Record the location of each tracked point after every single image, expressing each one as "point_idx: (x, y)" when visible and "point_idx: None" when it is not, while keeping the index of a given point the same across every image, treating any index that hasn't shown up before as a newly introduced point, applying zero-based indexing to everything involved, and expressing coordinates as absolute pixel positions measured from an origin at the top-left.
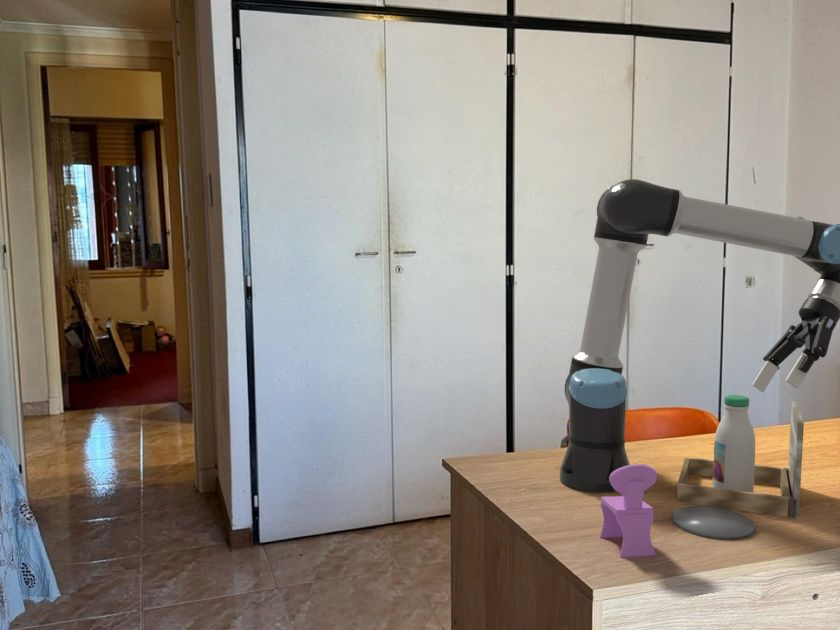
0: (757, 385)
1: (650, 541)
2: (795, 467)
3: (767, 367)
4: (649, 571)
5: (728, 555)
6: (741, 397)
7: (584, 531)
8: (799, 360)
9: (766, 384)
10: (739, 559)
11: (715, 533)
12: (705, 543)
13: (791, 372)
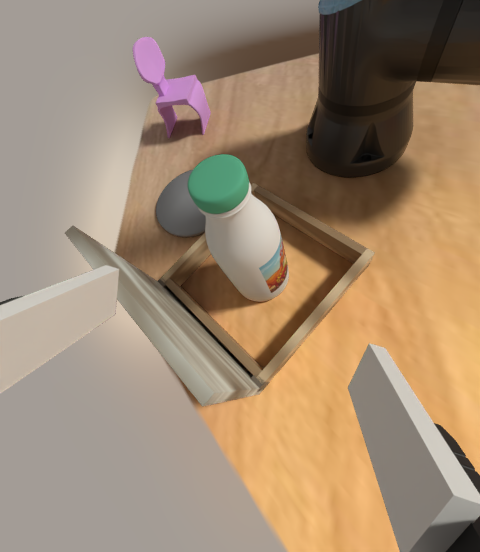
0: (363, 363)
1: (166, 126)
2: (130, 263)
3: (414, 456)
4: (151, 127)
5: (142, 182)
6: (204, 182)
7: (225, 105)
8: (8, 304)
9: (360, 411)
10: (133, 186)
11: (167, 185)
12: (165, 177)
13: (78, 276)
